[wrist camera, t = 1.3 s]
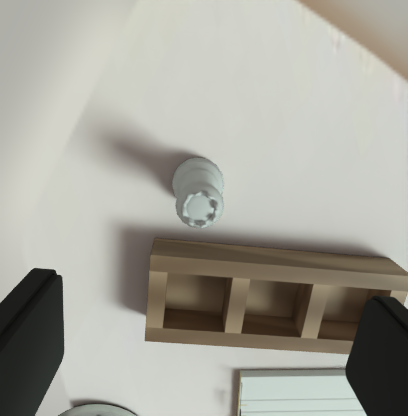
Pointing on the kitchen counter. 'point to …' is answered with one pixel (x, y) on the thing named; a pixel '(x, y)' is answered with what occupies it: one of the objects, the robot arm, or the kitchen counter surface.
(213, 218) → the rook chess piece
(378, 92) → the kitchen counter surface
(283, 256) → the rack
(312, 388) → the baseboard
